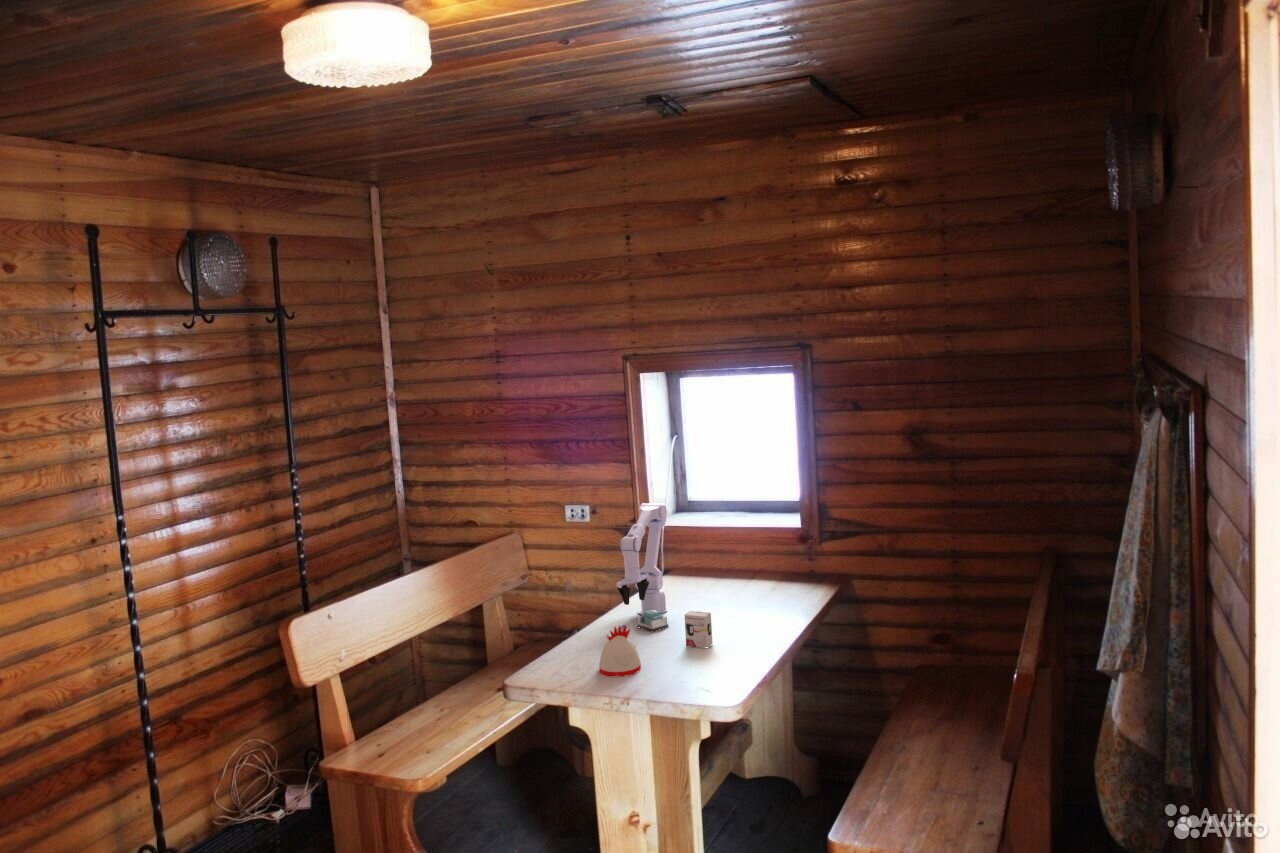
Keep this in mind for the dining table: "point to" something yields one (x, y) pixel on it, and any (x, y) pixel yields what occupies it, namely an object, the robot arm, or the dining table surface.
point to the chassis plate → (653, 623)
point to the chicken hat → (619, 655)
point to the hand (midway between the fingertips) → (634, 602)
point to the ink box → (698, 629)
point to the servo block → (651, 615)
